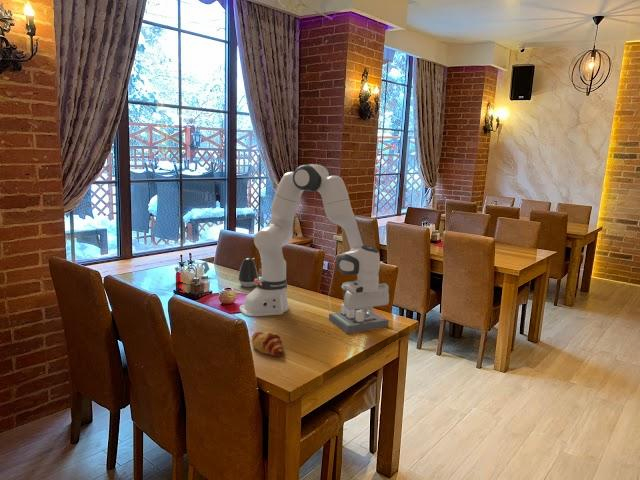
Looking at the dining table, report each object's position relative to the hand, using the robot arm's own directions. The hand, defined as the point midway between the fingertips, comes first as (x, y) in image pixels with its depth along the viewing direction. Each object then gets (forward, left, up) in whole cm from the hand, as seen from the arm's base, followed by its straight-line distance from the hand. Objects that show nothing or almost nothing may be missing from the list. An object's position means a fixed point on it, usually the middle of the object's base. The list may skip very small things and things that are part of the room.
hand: (366, 316), depth 200 cm
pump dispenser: (-28, +74, -5) cm, 79 cm away
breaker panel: (-1, +5, -5) cm, 7 cm away
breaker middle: (-5, +5, -1) cm, 7 cm away
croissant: (-45, -5, -5) cm, 45 cm away
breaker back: (-5, +10, -1) cm, 11 cm away
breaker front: (-3, 0, -1) cm, 3 cm away
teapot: (-53, +96, -5) cm, 109 cm away
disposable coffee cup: (+5, +22, -5) cm, 23 cm away
